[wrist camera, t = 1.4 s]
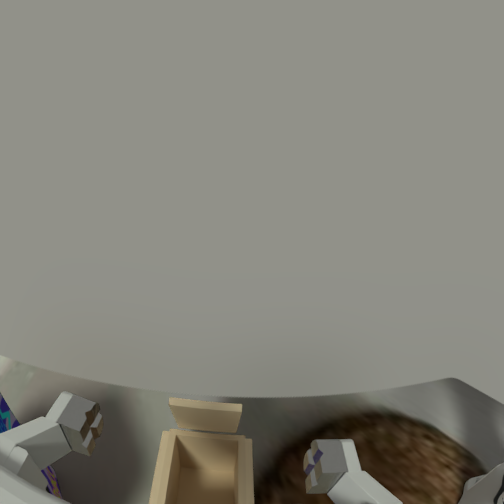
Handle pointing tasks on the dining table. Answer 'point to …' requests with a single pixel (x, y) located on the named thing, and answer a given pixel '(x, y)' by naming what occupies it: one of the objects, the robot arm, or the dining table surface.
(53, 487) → the toy
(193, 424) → the flap
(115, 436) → the dining table surface
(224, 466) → the carton
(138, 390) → the dining table surface
